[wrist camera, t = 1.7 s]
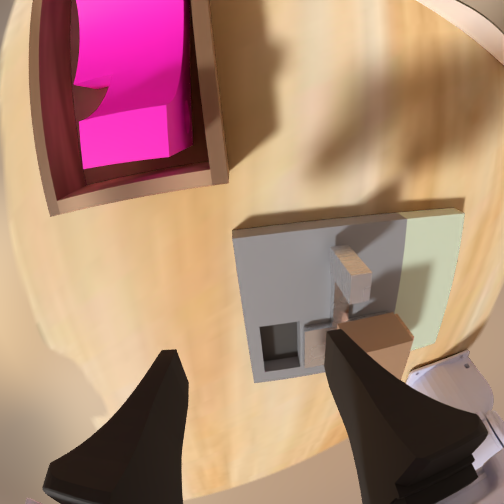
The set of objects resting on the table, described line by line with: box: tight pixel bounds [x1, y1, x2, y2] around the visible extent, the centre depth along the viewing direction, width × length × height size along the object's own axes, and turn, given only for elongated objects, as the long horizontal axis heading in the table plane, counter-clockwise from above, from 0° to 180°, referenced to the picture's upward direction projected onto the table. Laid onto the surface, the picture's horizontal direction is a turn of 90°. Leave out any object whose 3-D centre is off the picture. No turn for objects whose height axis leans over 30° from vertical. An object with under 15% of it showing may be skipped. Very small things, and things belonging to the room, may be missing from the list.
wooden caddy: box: [29, 0, 229, 217], centre depth 12 cm, size 11×20×4 cm, turn 6°
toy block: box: [73, 0, 193, 169], centre depth 10 cm, size 15×6×8 cm, turn 1°
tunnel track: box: [232, 208, 465, 383], centre depth 19 cm, size 18×13×6 cm
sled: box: [303, 244, 414, 372], centre depth 19 cm, size 8×10×4 cm
